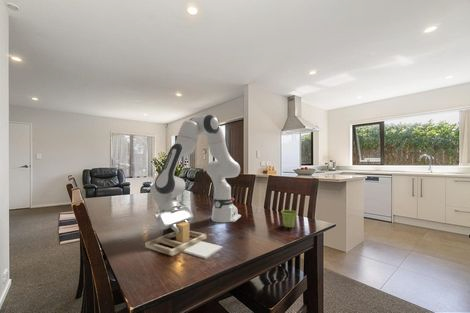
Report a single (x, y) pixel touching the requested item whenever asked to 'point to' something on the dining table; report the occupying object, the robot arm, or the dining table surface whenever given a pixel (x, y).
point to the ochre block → (183, 232)
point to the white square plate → (203, 249)
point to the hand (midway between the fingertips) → (183, 230)
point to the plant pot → (289, 218)
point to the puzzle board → (174, 243)
